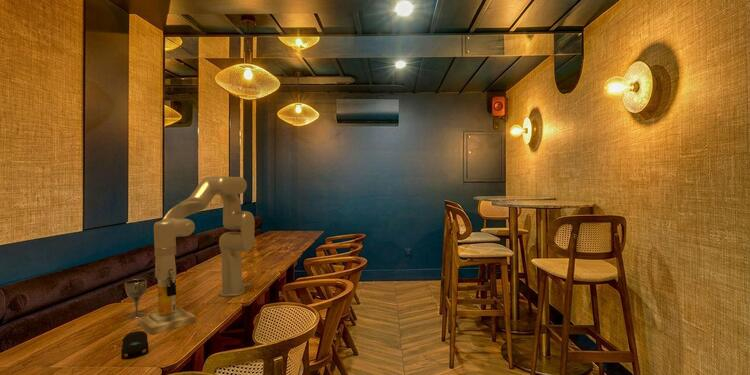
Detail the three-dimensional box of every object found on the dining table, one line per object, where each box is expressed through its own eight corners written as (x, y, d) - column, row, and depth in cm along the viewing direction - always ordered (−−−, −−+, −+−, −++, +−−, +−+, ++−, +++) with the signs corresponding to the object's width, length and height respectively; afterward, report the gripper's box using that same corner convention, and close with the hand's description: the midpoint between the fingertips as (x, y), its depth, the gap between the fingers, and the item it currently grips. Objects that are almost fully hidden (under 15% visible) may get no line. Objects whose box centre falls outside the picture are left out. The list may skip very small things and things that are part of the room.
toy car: (121, 362, 116) (120, 346, 116) (122, 343, 129) (122, 329, 129) (148, 355, 120) (148, 340, 120) (147, 338, 134) (147, 324, 134)
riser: (180, 313, 158) (180, 304, 158) (195, 322, 148) (195, 312, 148) (138, 324, 146) (138, 314, 146) (151, 335, 136) (151, 324, 136)
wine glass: (151, 313, 159) (150, 279, 159) (133, 319, 152) (132, 284, 152) (140, 311, 162) (139, 277, 162) (121, 317, 155) (120, 282, 155)
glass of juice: (163, 311, 150) (162, 275, 150) (178, 310, 151) (177, 274, 150) (155, 316, 144) (154, 279, 144) (171, 315, 144) (170, 278, 144)
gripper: (147, 250, 150) (149, 291, 150) (163, 255, 138) (164, 300, 139) (167, 247, 155) (169, 287, 156) (183, 252, 144) (185, 295, 144)
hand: (167, 293), depth 147 cm, fingers open, 9 cm apart
